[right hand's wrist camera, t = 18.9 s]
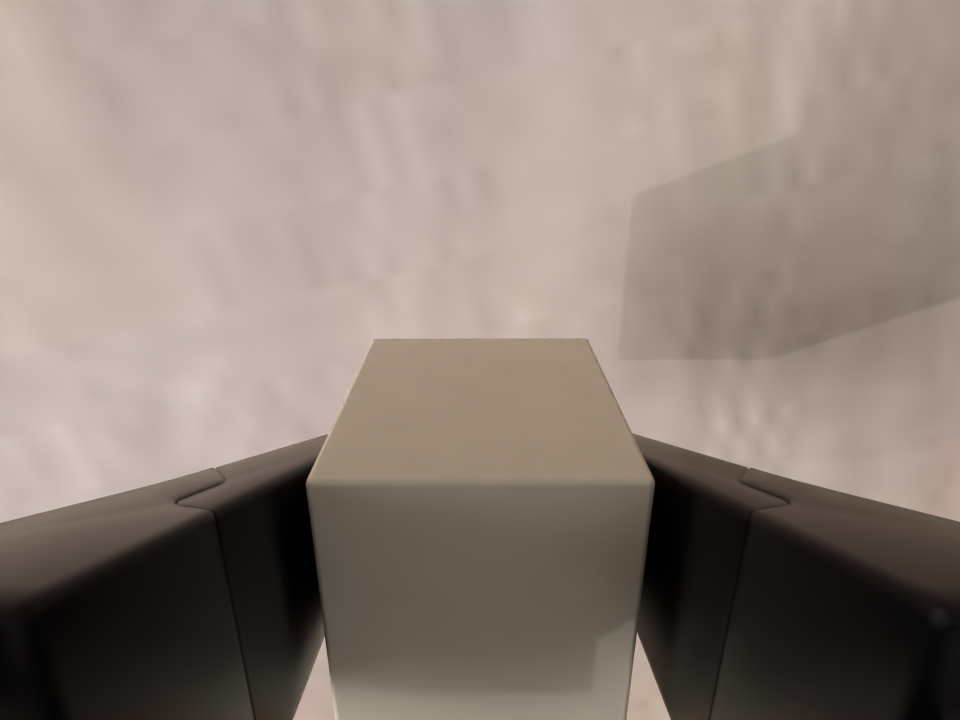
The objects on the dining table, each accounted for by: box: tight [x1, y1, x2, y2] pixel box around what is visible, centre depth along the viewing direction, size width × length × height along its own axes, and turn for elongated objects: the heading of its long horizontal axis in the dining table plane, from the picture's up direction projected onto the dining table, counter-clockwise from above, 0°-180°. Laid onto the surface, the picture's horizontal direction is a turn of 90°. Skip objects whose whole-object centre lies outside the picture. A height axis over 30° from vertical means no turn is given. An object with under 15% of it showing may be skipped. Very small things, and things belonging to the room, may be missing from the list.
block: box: [306, 339, 655, 720], centre depth 10 cm, size 4×4×5 cm
